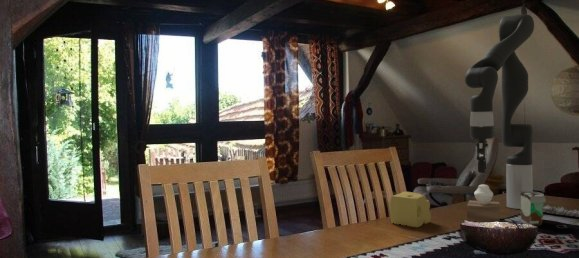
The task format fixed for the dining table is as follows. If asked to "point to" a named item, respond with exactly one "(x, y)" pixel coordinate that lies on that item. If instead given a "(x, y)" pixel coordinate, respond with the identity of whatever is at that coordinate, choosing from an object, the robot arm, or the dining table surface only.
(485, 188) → the white vase
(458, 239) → the dining table surface
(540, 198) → the food container
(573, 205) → the dining table surface
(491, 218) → the walnut block
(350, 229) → the dining table surface
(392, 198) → the cheese
